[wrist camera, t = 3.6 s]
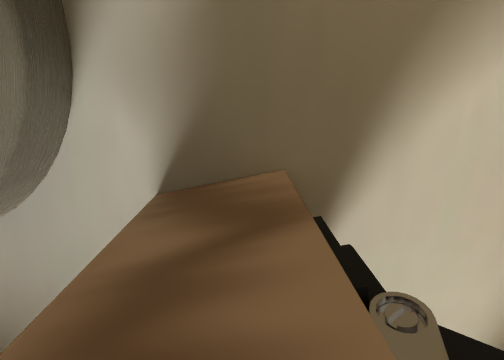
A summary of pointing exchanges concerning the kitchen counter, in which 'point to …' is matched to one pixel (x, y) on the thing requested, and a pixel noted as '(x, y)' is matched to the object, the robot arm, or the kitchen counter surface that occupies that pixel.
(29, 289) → the kitchen counter surface
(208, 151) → the kitchen counter surface
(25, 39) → the cake tin
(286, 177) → the tan rectangular block
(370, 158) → the kitchen counter surface
